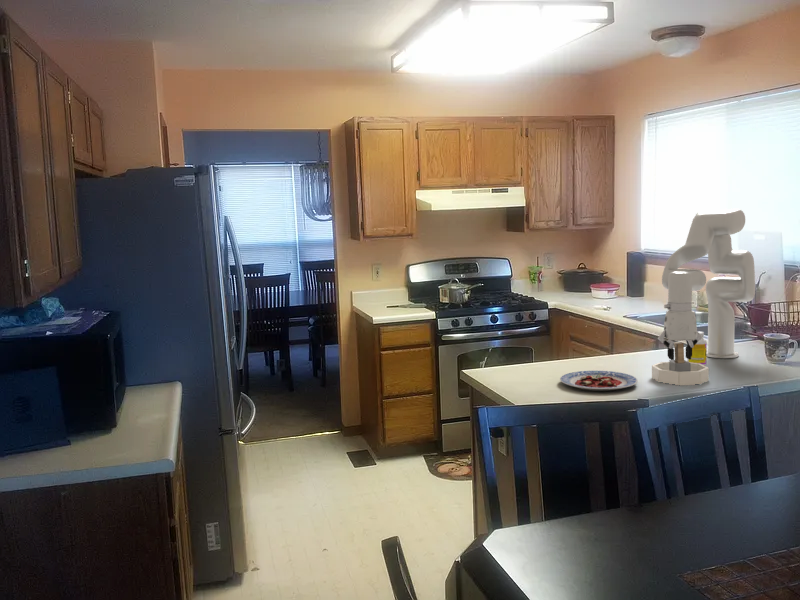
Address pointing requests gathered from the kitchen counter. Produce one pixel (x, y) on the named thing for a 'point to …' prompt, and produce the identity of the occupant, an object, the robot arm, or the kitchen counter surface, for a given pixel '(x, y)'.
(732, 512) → the kitchen counter surface
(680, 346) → the wooden block
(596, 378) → the ceramic plate
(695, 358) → the supplement bottle
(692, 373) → the shallow round tray
